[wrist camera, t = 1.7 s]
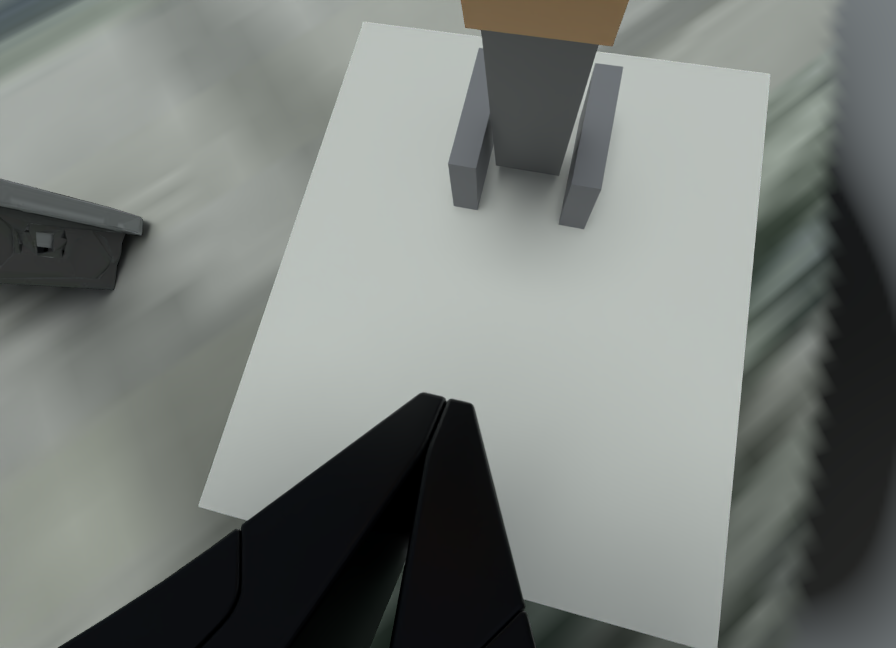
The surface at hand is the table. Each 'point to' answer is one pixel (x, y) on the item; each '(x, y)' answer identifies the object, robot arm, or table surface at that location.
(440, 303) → the thin white panel
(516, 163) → the handle
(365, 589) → the robot arm
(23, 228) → the electrical switch
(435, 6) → the table surface
